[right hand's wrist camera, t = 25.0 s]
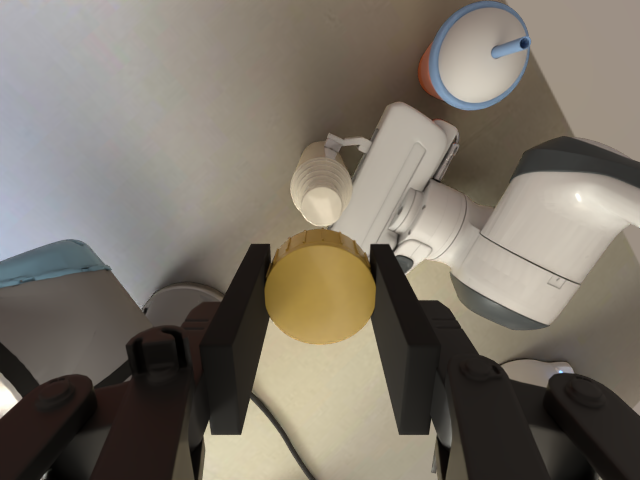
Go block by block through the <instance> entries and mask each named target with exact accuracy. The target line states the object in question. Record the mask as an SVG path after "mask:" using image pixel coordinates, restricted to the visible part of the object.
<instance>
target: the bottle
mask: <svg viewBox="0 0 640 480" xmlns="http://www.w3.org/2000/svg"><path fill="white" fill-rule="evenodd" d="M324 143H325V141H317V142H314V143H311V144H310V145H308V146H307V147H306V148H305V149H304V151H303V153H302V155H301V157H300V160H299V162H298V165H297V167H296V169H295V172H294V174H293V177H292V180H291V185H290V192H291V197H292V200H293V202H294V204H295V206H296V208H297V209H298V210H299V211H300V212H301V213H302V215H303V216H304V218H305V219H306V220H307V221H308V222H309V223H311V224H313V225H316V226H328V225H331V224H333V223H335V222H336V221H337V220H338V219H339V218H340V216H341V215H342V212H343V211H344V210H345V209H346V207H347V206H348V204H349V202H350V199H351V196H352V191H353V185H352V180H351V177H350V175H349V172H348V170H347V168H346V166H345V164H344V162H343V160H342V157H341V155H340V153H338V152H336V151H334V150H333V149H332V148H327V147H325V146H324Z"/></svg>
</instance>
